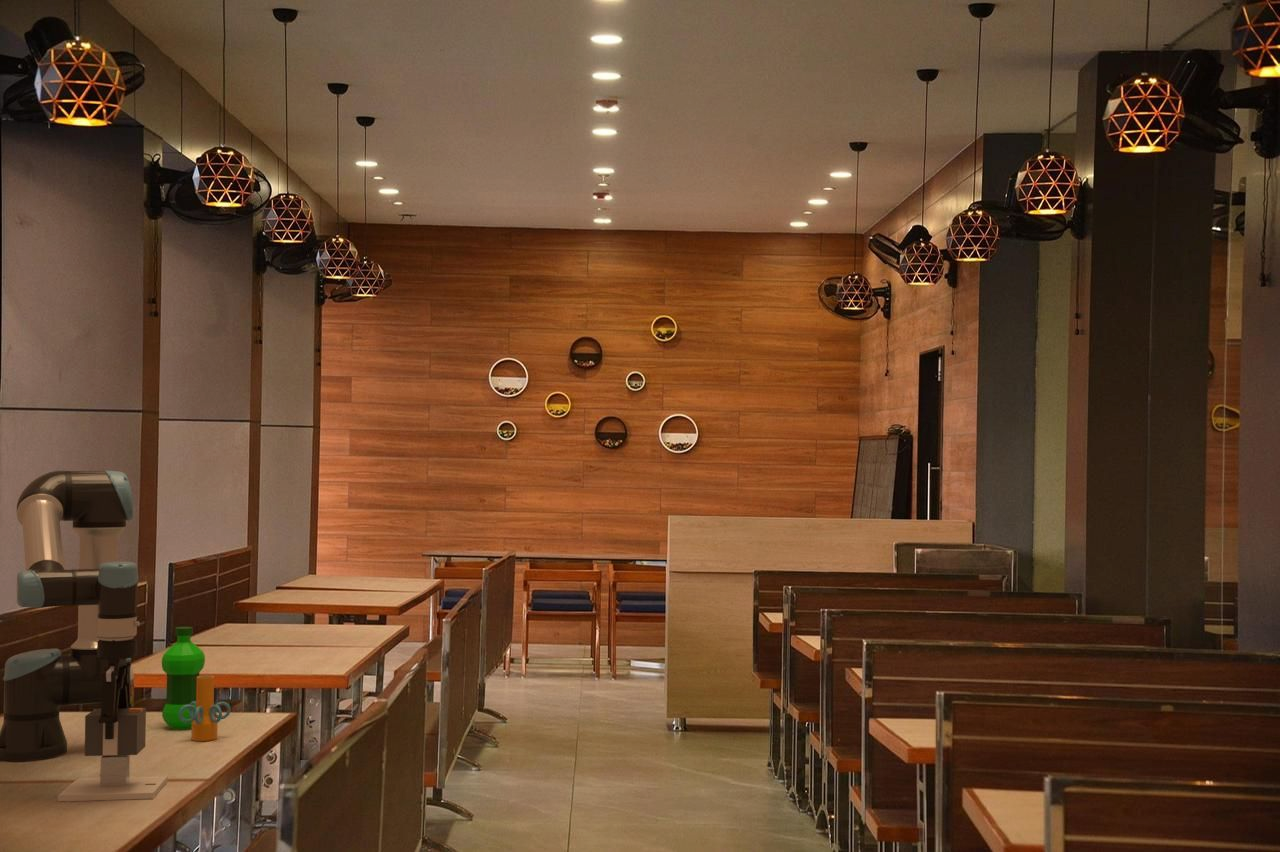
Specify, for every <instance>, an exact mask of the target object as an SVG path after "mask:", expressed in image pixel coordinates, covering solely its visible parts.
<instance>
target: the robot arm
mask: <svg viewBox="0 0 1280 852" xmlns="http://www.w3.org/2000/svg"><path fill="white" fill-rule="evenodd" d="M132 495H133V494H132V489H131V485H130V481H129V477H128V476H127V475H126V473H124V472H122V471H117V470H107V469H104V470H54V471H49V472H47V473H44V474H42V475H40V476H38V477H37V478H35V479H34V480H33V481H31V482H30V483H29V484H28V485H27V486H26V487H25V488H24V489H23V491H22V492H21V494H20V495H19V497H18V499H17V503H16V517H17V520H18V523H20V525H21V526H22V535H23V547H24V548H23V549H24V561H25V564H24V565H25V566H24V567H25V570H23V571H20V572H18V573H17V576H16V602H17V605H18V606H19V607H21V608H37V609H40V608H51V607H52V608H53V607H68V606H69V607H70V606H71V607H72V606H75V607H76V606H77V607H78V608H77V609H78V613H77V614H78V616H77V619H78V620H77V624H78V625H77V627H78V628H77V639H76V640H75V642H73V643H72V644H71V646H70V654H62V652H61V650H60V649H59V648H43V649H36V650H30V651H27V652H22V653H19V654H15V655H13V656H11V657H9V658H8V659H7V660H6V661H5V664H4V676H3V677H2V678H3V679H2V680H3V681H4V693H3V722H2V725H1V728H0V760H1V761H4V762H5V761H6V762H28V761H29V762H30V761H38V760H46V759H52V758H55V757H59V756H62V755H64V754H66V753H67V752H68V741H67V738H66V734H65V731H64V729H63V726H62V723H61V719H60V707H65V706H77V705H78V706H79V705H80V706H81V705H91V704H92V705H93V704H94V705H95V704H100V709H101V717H100V719H99V723H103V755H117V754H118V722H116V721H117V712H118V708H130V707H131V692H130V669H131V667H132V663H131V662H132V658H134V657H136V656H137V651H138V650H137V648H138V645H137V644H138V643H137V641H138V639H136V638H135V636H137V634H138V632H137V631H138V630H137V627H139V626H140V625H141V623H140V621H137V620H138V587H139V585H138V583H139V581H140V579H139V578H140V577H139V571H138V570H139V569H138V564H136V563H135V562H132V561H119V551H120V549H119V548H120V547H119V546H120V545H119V544H120V541H119V540H120V539H119V538H120V535H121V533H122V532H123V531H125V530H126V527H127V521H128V522H129V521H131V520H133V517H134V511H133V510H134V502H133V496H132ZM63 521H65V522H68V521H69V522H72V530H74V532H75V533H76V534H77V535H78V538H79V547H78V548H79V551H78V553H79V554H78V556H79V557H78V559H79V560H78V569H74V568H73V569H66V567H65V560H64V559H65V558H64V551H63V541H62V532H61V530H62V529H61V524H60V522H63Z"/></svg>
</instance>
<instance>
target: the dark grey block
mask: <svg viewBox="0 0 1280 852" xmlns="http://www.w3.org/2000/svg"><path fill="white" fill-rule="evenodd" d="M100 717H101V708H94V710H92V711H91V712H89V713H88V714H86V715H85V718H84V720H85V721H84V722H85V723H84V757H102V756H114V755H103V723H99V719H100ZM146 720H147V707H134V708H118V712H117V721H116V722H118V754H117V755H130V756H137V755H139V753H141V751H143V749H144V748H146V731H147V730H146V727H147V726H146V725H147V724H146V722H147V721H146Z"/></svg>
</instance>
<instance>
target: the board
mask: <svg viewBox="0 0 1280 852" xmlns="http://www.w3.org/2000/svg"><path fill="white" fill-rule="evenodd" d="M130 756H131V755H114V756H100V766H99V767H100V768H99V769H100V773H99V774H100V777H83V778H81V777H80V778H79V777H78V778H77V779H75V780H74V781H73V782H71V784H69V785H68V787H66V788H65V789H63V791H62V792H60V794H59V793H58V795H57V796H58V798H57V799H58V802H83V801H84V802H85V801H86V802H87V801H117V800H118V801H121V800H124V801H125V800H153V799H155V797H157V795H158V794H159V793H160V791H162V789H163V788H164V787H165V786H166V785H167V784H168V781H169V777H168V775H165V776H164V775H161V776H157V775H156V776H130V765H131V763H130V760H131V758H130Z"/></svg>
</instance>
